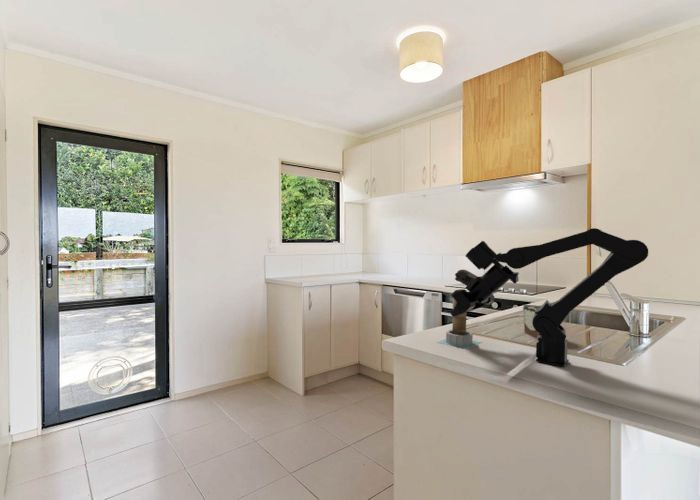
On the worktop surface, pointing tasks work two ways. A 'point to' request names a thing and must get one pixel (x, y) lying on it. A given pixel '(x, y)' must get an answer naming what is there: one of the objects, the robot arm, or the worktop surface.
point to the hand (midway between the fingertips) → (455, 314)
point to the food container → (530, 321)
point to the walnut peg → (459, 322)
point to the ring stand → (459, 340)
